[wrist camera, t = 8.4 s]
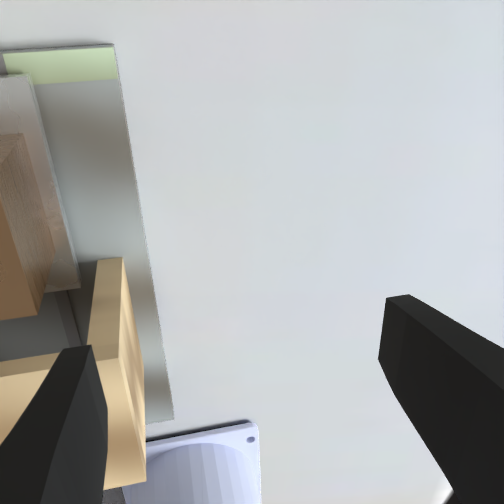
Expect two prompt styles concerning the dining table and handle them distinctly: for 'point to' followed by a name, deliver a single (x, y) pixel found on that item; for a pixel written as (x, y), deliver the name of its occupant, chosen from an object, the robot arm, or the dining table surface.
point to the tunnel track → (92, 259)
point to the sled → (29, 207)
